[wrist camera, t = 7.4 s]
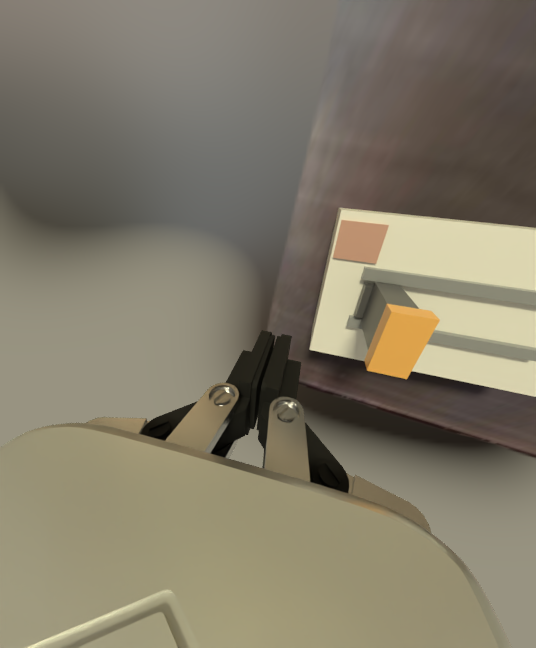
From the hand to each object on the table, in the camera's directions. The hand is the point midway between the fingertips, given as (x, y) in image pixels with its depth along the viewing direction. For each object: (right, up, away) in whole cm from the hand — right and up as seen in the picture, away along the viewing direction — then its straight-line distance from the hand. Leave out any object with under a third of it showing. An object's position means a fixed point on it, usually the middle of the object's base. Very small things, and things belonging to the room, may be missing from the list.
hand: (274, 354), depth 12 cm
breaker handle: (+10, +4, +8) cm, 13 cm away
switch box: (+17, +5, +11) cm, 21 cm away
